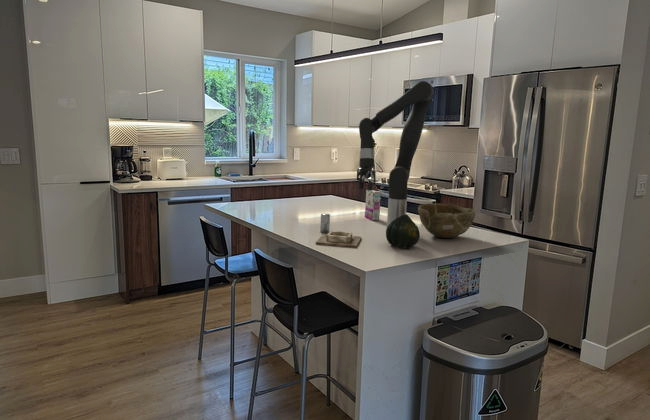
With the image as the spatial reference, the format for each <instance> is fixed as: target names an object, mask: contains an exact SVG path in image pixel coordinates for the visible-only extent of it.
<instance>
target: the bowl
mask: <svg viewBox="0 0 650 420" xmlns="http://www.w3.org/2000/svg"><path fill="white" fill-rule="evenodd" d="M417 210H418V211H417V212H418V216H419V218H420V221H421V225H422V226H423V227H424V228H425V230H427V232H428V233H430V234H431V235H432V236H434V237H435V238H445V239H449V238H450V239H451V238H456V237H458V236H461V235H464V234H465V233H467V231H468V230H470V228H471V226H472V225H473V224H472V223H473V221H474V219H475V209H474V208H470V207H469V208H467V207H461V206H458V205H456V204H450V203H424V204H420V205H419V206H418V208H417Z"/></svg>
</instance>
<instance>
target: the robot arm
mask: <svg viewBox="0 0 650 420" xmlns="http://www.w3.org/2000/svg"><path fill="white" fill-rule="evenodd" d="M434 93H435V91H434V87H433V85H432V84H431V83H429V82H428V81H425V80H421V81H417V83H415V84H414V85H413V86H411V88H410V89H408V90H407V91H406V92H405V93H404V94H402V95H401V96H399V98H397V99H395V100H394V101H392V102H391V103H390V104H387V105H386V106H384V107H383V108H381V109H379V110H377V111H376V113H375V116H374V117H372V118H370V117H363V118H362V119H361V120H360V122H359V123H358V124H359V125H358V130H359V138H360V150H359V163H358V164H359V165H358V166H359V168H357V169H356V181H358V182H359V185H358V189H359V190H360V191H363V190H364V187H365V180H367V182H368V187H367V190H369V191H372V190H373V189H374V188H373V187H374V183H376V182H377V181H376V178H377V177H376V175H377V174H376V170H373V168H375V154H376V153H375V139H374V137H373V134H374V133H375V132H377V131H378V130H379V129H381V128H382V127H383V126H384V125H385V124H387V123H388V122H390V121H391V120H393V119H395V118H396V117H398V116H399V115H400V114H401V113H403V112H404V111H405V110H406V109H408V108H409V107H411V106H412V108H411V111H410V113H409V115H408V117H407V119H406V121H405V123H404V126H403V129H402V132H401V136H400V141H399V147H398V148H399V150H398V155H397V156H398V157H397V159H396V163H395V164H394V167H393V168H392V169H391V170H390V171H389V176H388V188H387V189H388V190H387V191H388V199H387V201H388V202H387V205H388V206H387V216H386V217H387V219H386V228H387V227H388V225H389V224H390V223H391V222H392V221H393V220H395V219H396V218H398V217H400V216H402V215H406V214H407V205H408V203H407V202H408V182H409V179H410V174H411V170H412V169H411V168H412V162H413V159H414V156H415V154H416V151H417V149H418V146H419V143H420V140H421V137H422V133H423V129H424V124H425V120H426V115H427V111H428V110H429V106H430V103H431V101H432V99H433V98H434V97H433V96H434Z"/></svg>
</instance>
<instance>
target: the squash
mask: <svg viewBox="0 0 650 420" xmlns="http://www.w3.org/2000/svg"><path fill="white" fill-rule="evenodd" d="M420 234H421V233H420V229H419V227H418V226H417V224H416V223H415V222H414V221H413V219H412V218H411V217H410V216H409V215H408V214H407V213H406V215H402V216H400V217H398V218H396V219H395V220H393V221H392V222H391V223H390V224H389V225H388V227H387V226H386V229H385V238H386V241H387V243H388V244H389V245H391V246H394V247H395V246H398V248H400V249H402V250H403V249H410V248H412V247H413V246H416V245H417V244H418V242H419V240H420V236H421V235H420Z"/></svg>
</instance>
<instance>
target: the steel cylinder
mask: <svg viewBox="0 0 650 420" xmlns="http://www.w3.org/2000/svg"><path fill="white" fill-rule="evenodd" d="M330 226H331V214H330V213H321V214H320V230H319V233H320V234H324V233H325V234H328V233H329V232H330V229H331V228H330Z"/></svg>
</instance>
